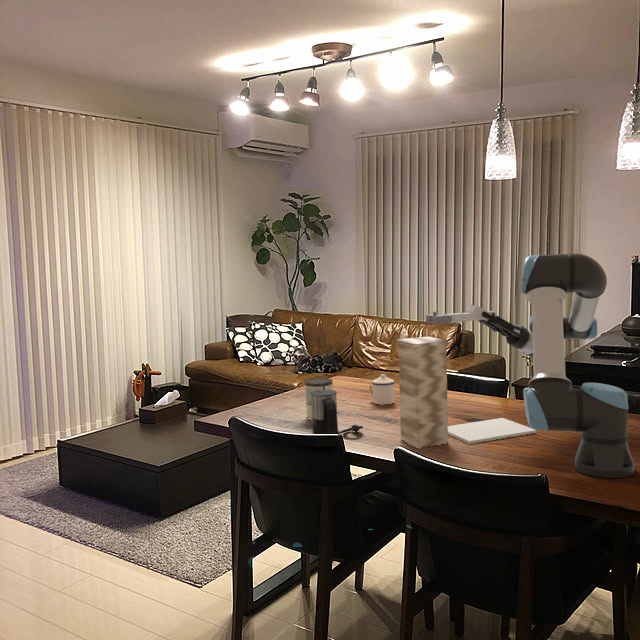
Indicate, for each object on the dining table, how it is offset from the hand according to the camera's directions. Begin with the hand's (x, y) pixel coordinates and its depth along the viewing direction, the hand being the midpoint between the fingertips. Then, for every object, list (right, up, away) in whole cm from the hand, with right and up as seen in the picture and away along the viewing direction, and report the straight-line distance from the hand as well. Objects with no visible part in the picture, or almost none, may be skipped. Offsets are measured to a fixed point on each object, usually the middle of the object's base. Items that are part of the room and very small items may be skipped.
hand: (471, 308), depth 219 cm
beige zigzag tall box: (-16, -43, -3) cm, 46 cm away
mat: (+6, -41, +6) cm, 42 cm away
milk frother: (-43, -43, +10) cm, 62 cm away
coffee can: (-49, -41, +33) cm, 72 cm away
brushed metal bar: (-3, -4, -1) cm, 5 cm away
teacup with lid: (-25, -38, +53) cm, 69 cm away
